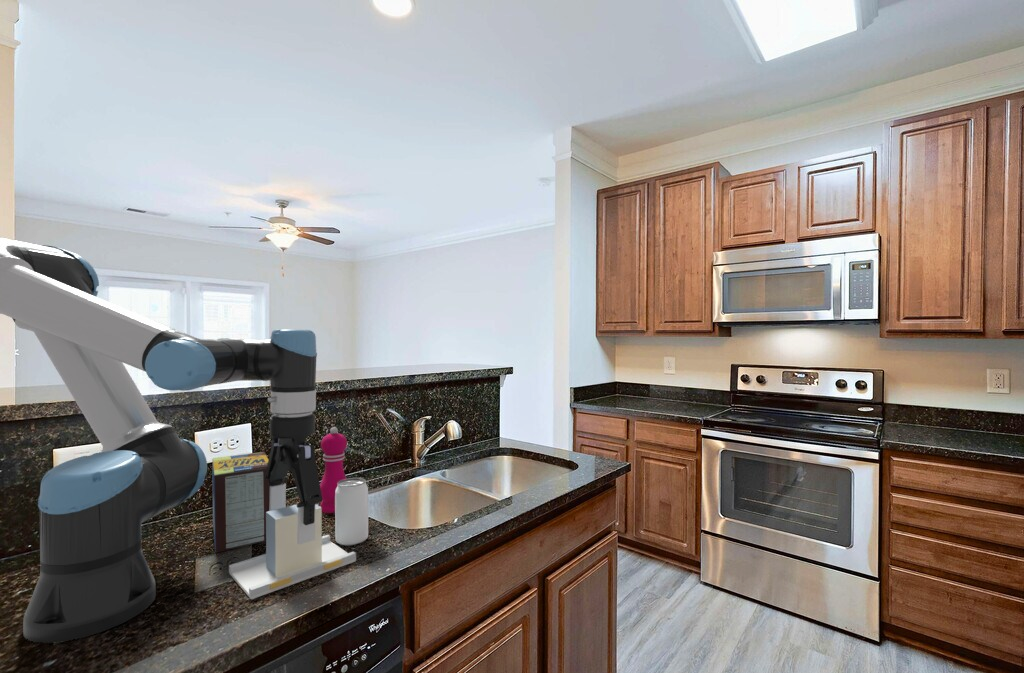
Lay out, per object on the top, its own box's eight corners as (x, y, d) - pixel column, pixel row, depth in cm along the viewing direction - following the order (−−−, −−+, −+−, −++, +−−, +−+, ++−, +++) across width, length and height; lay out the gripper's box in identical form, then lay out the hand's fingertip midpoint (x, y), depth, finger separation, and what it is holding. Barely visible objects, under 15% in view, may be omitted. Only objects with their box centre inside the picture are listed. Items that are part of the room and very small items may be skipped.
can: (358, 547, 95) (357, 487, 95) (328, 545, 96) (328, 485, 96) (374, 534, 101) (373, 478, 101) (346, 532, 102) (346, 476, 102)
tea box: (275, 577, 82) (275, 519, 82) (266, 567, 86) (265, 511, 86) (321, 561, 88) (321, 507, 88) (310, 552, 91) (310, 500, 91)
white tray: (251, 600, 76) (251, 590, 76) (229, 573, 85) (229, 565, 85) (356, 561, 89) (356, 553, 89) (327, 541, 97) (327, 534, 97)
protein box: (265, 517, 111) (264, 451, 111) (273, 540, 98) (273, 465, 98) (212, 527, 105) (211, 457, 105) (213, 553, 92) (213, 474, 92)
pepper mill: (313, 508, 116) (313, 426, 116) (342, 501, 121) (342, 423, 121) (325, 516, 111) (324, 431, 111) (354, 508, 116) (354, 427, 116)
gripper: (248, 407, 93) (246, 515, 93) (299, 426, 75) (296, 559, 75) (288, 404, 98) (286, 506, 98) (344, 420, 81) (342, 545, 81)
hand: (290, 530), depth 87 cm, fingers open, 13 cm apart
